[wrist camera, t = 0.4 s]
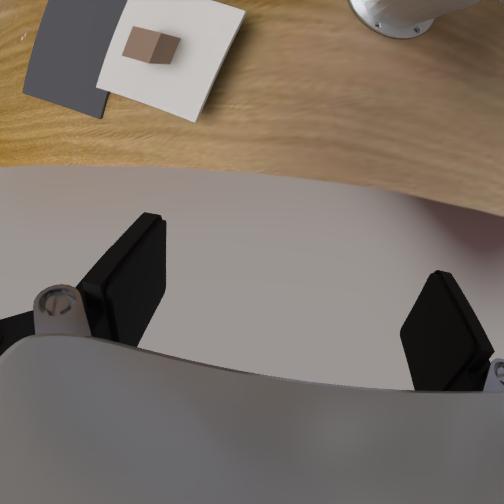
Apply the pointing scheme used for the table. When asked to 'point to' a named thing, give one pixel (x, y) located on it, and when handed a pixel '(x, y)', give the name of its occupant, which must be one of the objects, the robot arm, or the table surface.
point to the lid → (169, 52)
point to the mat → (73, 53)
